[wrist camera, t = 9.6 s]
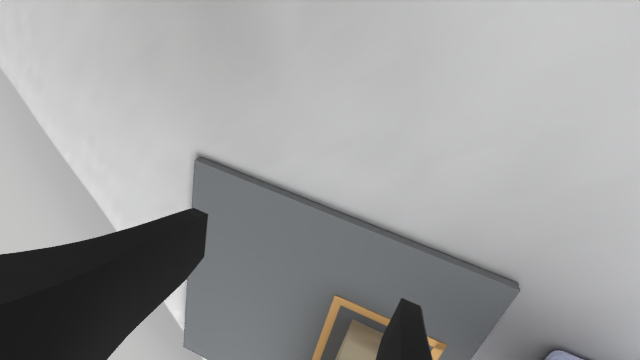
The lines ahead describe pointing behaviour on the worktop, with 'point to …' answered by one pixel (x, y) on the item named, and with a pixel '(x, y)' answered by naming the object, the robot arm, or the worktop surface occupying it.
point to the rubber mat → (319, 278)
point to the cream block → (360, 343)
